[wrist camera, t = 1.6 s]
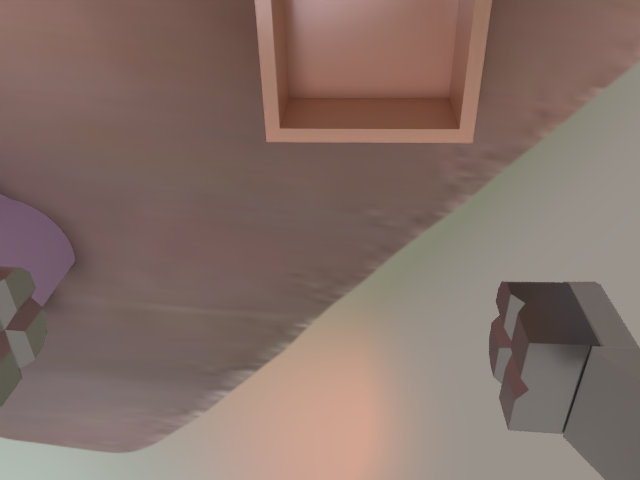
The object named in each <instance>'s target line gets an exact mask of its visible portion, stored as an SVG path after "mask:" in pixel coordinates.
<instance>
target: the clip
mask: <svg viewBox="0 0 640 480" xmlns="http://www.w3.org/2000/svg"><path fill="white" fill-rule="evenodd" d="M74 262H75V255H74V252H73V249H72V246H71V244H70V242H69V240H68V239H67V237H66V235H65V234H64V233H63V231H62V230H61V229H60V228H59V227H58V226H57V225H56V224H55V223H54V222H53V221H52V220H51V219H50V218H48V217H47V216H46V215H44V214H43V213H41V212H40V211H38V210H36V209H35V208H33V207H31V206H29V205H26V204H24V203H21V202H18V201H15V200H12V199H10V198H8V197H6V196H4V195H2V194H0V267H21V268H23V269H25V270H27V271H29V272H30V274H31V276H32V279H33V281H34V284H35V286H36V289H35V291H34V293H33V295H32V297H31V298H32V299H34V300H35V301H36V302H37V303H38V304H39V305H40V306H42V307H43V305H44V304H45V303H46V301H47V300H48V298H49V297H50V296H51V294H52V293H53V291H54V290H55V289H56V287H57V286H58V285H59V283H60V282H61V280H62V279H63V278H64V276H65V275H66V273H67V272H68V271H69V269H70V268H71V266H72V265H73V264H74Z"/></svg>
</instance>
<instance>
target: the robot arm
mask: <svg viewBox="0 0 640 480" xmlns="http://www.w3.org/2000/svg"><path fill="white" fill-rule="evenodd" d="M35 289H36V286H35V284H34V281H33V279H32V276H31V274H30V272H29V271H27V270H25V269H23V268H21V267H0V408H1V407H2V406H3V405H4V403H5V402H6V400H7V399H8V397H9V396H10V395H11V393H12V392H13V390H14V389H15V388H16V386H17V385H18V383H19V382H20V381H21V379H22V375H21V371H20V368H22V367H23V366H25V365H27V364H28V363H30V362H32V361H34V360H35V359H36V358H37V356H38V355H39V353H40V352H41V350H42V349H43V347H44V343H45V339H46V335H47V318H46V315H45V312H44V309H43V307H42V306H40V305H39V304H38V303H37V302H36V301H35V300H34V299H32V298H31V297H32V295H33V293H34V291H35ZM496 303H497V307H498V309H499V313H500V315H499V316H498V317H497V318H496V319H495V320H494V321H493V322H492V325H491V331H490V337H489V356H490V364H491V369H492V372H493V376H494V378H496V379H497V380H498V381H499V382H500V383H501V384H502V386H501V391H500V396H499V399H500V402H501V406H502V410H503V413H504V417H505V420H506V424H507V428H508V430H513V431H514V430H515V431H528V432H542V433H556V434H557V433H558V434H564V435H563V437H564V438H565V439H566V440H567V441H568V442H569V443H570V444H571V445H572V446H573V447H574V448H575V449H576V450H577V451H578V452H579V454H581V456H582V457H583V458H584V459H585V460H586V461H587V462H588V463H589V464H590V465H591V466H592V467H593V468H594V469H595V470H596V471H597V472H598V473H599V474H600V475H601V476H602V477H603V478H604V479H605V480H640V348H639V346H638V345H637V343H636V341H635V340H634V338H633V337H632V335H631V333H630V332H629V330H628V329H627V327H626V325H625V324H624V322H623V320H622V319H621V317H620V316H619V314H618V312H617V311H616V309H615V307H614V306H613V304H612V303H611V301H610V299H609V298H608V296H607V295H606V293H605V291H604V290H603V288H602V286H601V285H600V284H598V283H596V282H563V283H555V282H501V284H500V287H499V289H498V294H497V298H496Z"/></svg>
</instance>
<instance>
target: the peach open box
mask: <svg viewBox="0 0 640 480" xmlns="http://www.w3.org/2000/svg"><path fill="white" fill-rule="evenodd" d="M491 6H492V0H255V10H256V22H257V34H258V46H259V58H260V70H261V81H262V93H263V105H264V117H265V129H266V141H267V142H369V143H473V136H474V129H475V122H476V114H477V107H478V100H479V93H480V85H481V78H482V71H483V64H484V56H485V49H486V42H487V35H488V27H489V20H490V13H491Z"/></svg>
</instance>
